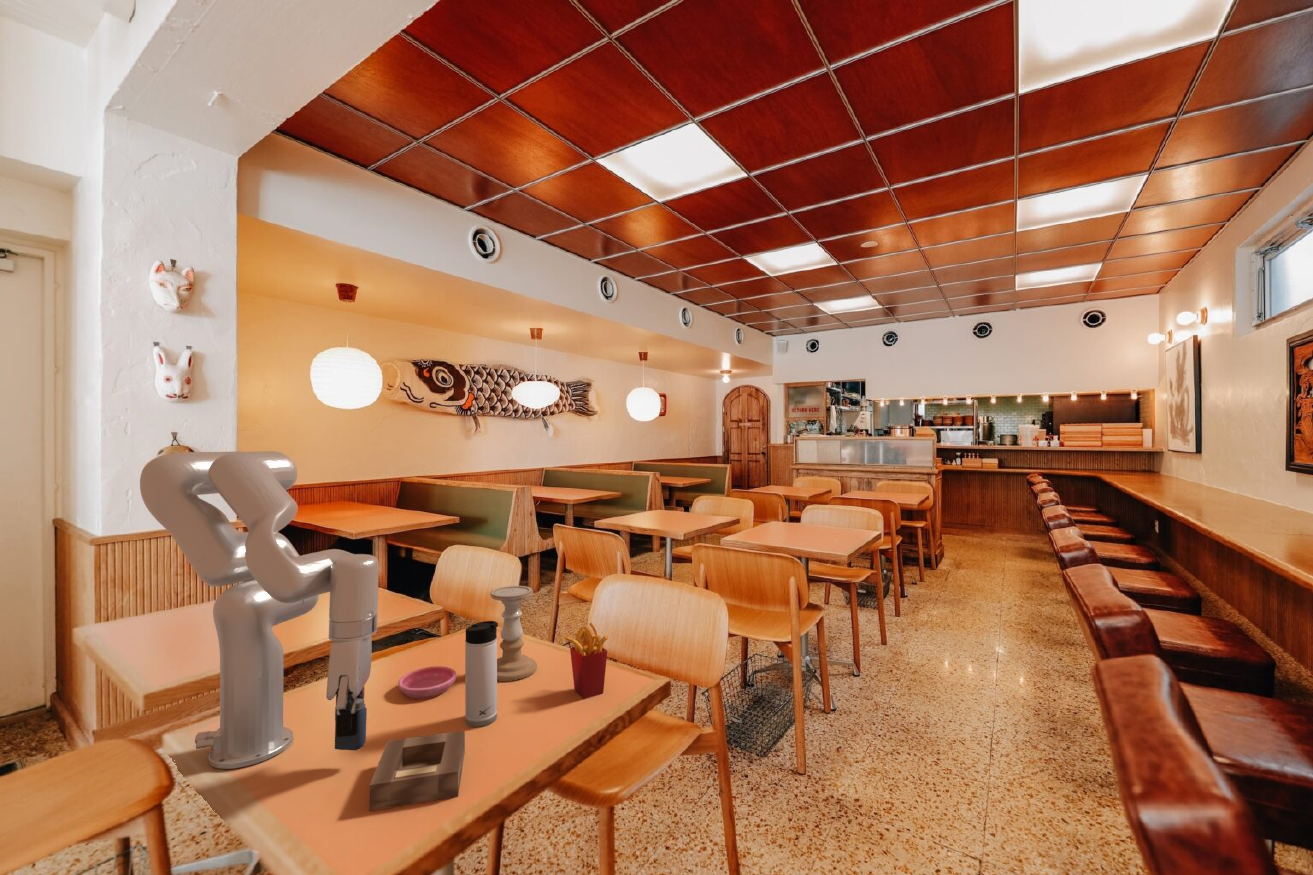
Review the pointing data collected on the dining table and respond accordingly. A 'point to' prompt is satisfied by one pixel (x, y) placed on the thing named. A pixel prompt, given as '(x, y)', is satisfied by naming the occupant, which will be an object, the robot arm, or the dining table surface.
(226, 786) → the dining table surface
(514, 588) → the candle holder
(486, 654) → the travel mug
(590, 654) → the french fries
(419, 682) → the saucer
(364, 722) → the vaping device
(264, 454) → the robot arm
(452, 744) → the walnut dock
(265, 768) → the dining table surface
